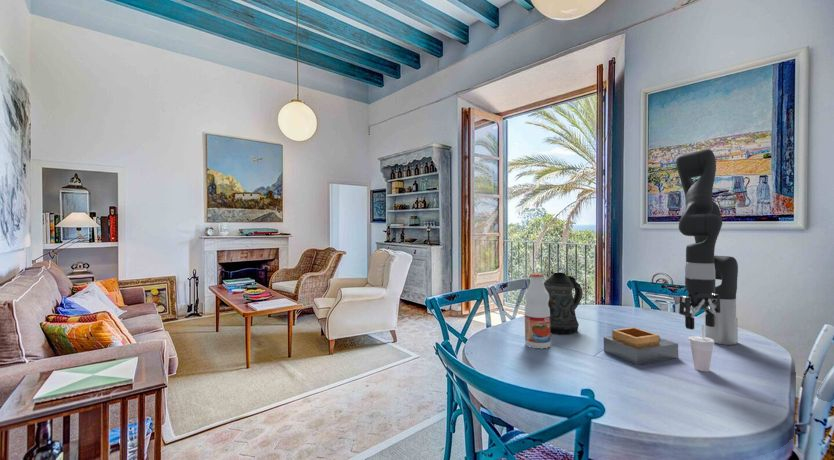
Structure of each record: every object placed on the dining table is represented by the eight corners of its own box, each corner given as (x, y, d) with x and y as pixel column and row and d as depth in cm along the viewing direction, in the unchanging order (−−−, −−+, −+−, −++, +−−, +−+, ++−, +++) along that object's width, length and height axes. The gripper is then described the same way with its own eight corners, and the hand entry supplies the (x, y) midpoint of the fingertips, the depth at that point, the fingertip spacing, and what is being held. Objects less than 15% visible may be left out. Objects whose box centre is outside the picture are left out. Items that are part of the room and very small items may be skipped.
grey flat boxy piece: (648, 343, 135) (647, 323, 135) (684, 356, 121) (684, 334, 121) (603, 350, 129) (603, 329, 129) (637, 365, 116) (636, 340, 116)
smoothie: (719, 374, 108) (719, 328, 107) (696, 372, 109) (695, 327, 109) (707, 365, 114) (706, 322, 114) (684, 364, 115) (684, 322, 115)
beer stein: (531, 329, 156) (530, 273, 156) (552, 320, 169) (551, 269, 169) (568, 337, 144) (567, 277, 144) (587, 327, 157) (586, 272, 157)
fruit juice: (538, 339, 142) (537, 271, 142) (556, 347, 134) (554, 274, 133) (520, 343, 139) (518, 273, 138) (536, 351, 130) (535, 276, 130)
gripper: (703, 274, 117) (704, 322, 117) (671, 276, 113) (671, 326, 113) (729, 277, 109) (729, 328, 110) (695, 279, 106) (695, 333, 106)
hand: (700, 327), depth 111 cm, fingers open, 8 cm apart
